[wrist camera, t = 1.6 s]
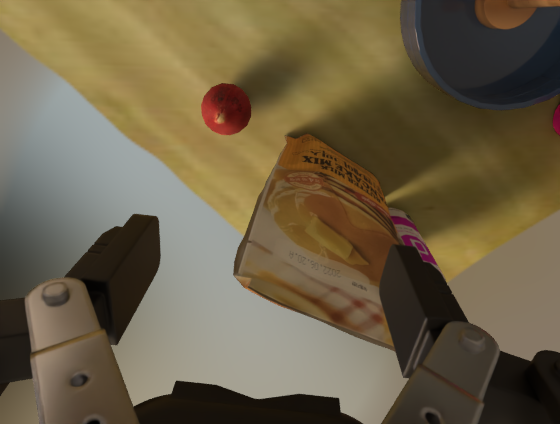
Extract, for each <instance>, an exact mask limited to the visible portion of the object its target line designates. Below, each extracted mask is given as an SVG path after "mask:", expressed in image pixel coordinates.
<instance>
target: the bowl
mask: <svg viewBox="0 0 560 424" xmlns="http://www.w3.org/2000/svg"><path fill="white" fill-rule="evenodd" d="M400 21H401V32H402V37H403V42H404V46H405V48H406V51H407V54H408V56H409V58H410V60H411V62H412V64H413V66H414V67H415V69H416V70H417V71H418V73H419V74H420V75H421V76H422V77H423V78H424V79H425V80H426V81H427V82H428V83H429V84H431V85H432V86H433V87H435V88H436V89H438V90H439V91H441V92H442V93H444V94H446V95H448V96H450V97H452V98H454V99H456V100H458V101H460V102H463V103H466V104H469V105H471V106H474V107H477V108H481V109H491V110H509V109H518V108H525V107H528V106H531V105H534V104H537V103H540V102H543V101H546V100H549V99H551V98H552V97H554V96H556V95H558V94H560V6H555V7H537V9H536V10H535V12H534V13H533V14H532V16H531V17H530V18H529V19H528V20H527V21H525V22H524V23H523V24H521V25H519V26H517V27H515V28H511V29H491V28H488V27H485V26H484V25H482V24H481V23H480V22H479V20H478V19H477V16H476V13H475V0H401V13H400Z"/></svg>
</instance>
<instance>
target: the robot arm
mask: <svg viewBox="0 0 560 424" xmlns="http://www.w3.org/2000/svg"><path fill="white" fill-rule="evenodd" d="M160 256H161V255H160V235H159V220H158V218H157V217H156V216H149V215H141V214H133V215H132V216H131V217H130V219H129V220H128V221H127V222H126V224H125V225H124V226H123V227H118V226H116V227H114V228H112V229H110V230H109V231H107V232H105V233H103V234H102V235H101V236H100V237H99V238H98V240H97V241H96V242H95V244H94V245H92V246H91V247H90V249H89V250H88V252H86V253H85V254H84V255H83V256H82V257H81V259H80V260H79V261H78V262H77V263H76V264H75V265H74V267H73V268H72V269H71V270H70V271H69V272H68V273H67V274H66V275H65V277H64V278H56V279H52V280H48V281H45V282H43V283H41V284H39V285H37V286H36V287H34V288H33V289H32V290H30V291H29V293H28V294H27V295H26V297H25V298H18V299H8V300H0V396H1V394H2V393H3V391H4V390H5V388H6V387H7V386H8V384H9V383H10V382H14V381H20V380H26V379H32V378H33V382H34V389H35V395H36V403H37V410H38V417H39V424H363V423H361V422H360V421H358V420H356V419H355V418H353V417H351V416H349V415H347V414H344V413H341V412H340V403H339V398H333V397H323V396H314V395H305V394H295V395H288V396H280V397H272V398H265V399H254V398H251V397H248V396H245V395H243V394H240V393H237V392H234V391H232V390H229V389H226V388H223V387H221V386H218V385H212V384H203V383H194V382H184V381H176V382H175V385H174V388H173V391H172V394H168V395H163V396H159V397H155V398H152V399H149V400H147V401H144V402H142V403H140V404H138V405H136V406H134V407H133V404H132V402H131V399H130V397H129V394H128V391H127V388H126V385H125V383H124V380H123V377H122V375H121V372H120V369H119V366H118V364H117V361H116V358H115V356H114V353H113V350H112V347H111V345H117V344H118V343H119V341H120V339H121V337H122V335H123V333H124V332H125V330H126V328H127V326H128V324H129V323H130V321H131V319H132V317H133V315H134V313H135V312H136V310H137V308H138V306H139V304H140V302H141V301H142V299H143V297H144V295H145V293H146V291H147V290H148V287H149V286H150V284H151V282H152V280H153V279H154V276H155V275H156V273H157V271H158V268H159V264H160ZM379 296H380V300H381V304H382V307H383V310H384V314H385V317H386V321H387V324H388V327H389V331H390V334H391V338H392V341H393V344H394V348H395V351H396V355H397V358H398V361H399V365H400V368H401V372H402V375H403V378H409V380H408V381H407V383H406V385H405V387H404V388H403V389H402V391H401V393H400V394H399V396H398V397H397V399H396V401H395V402H394V404H393V406H392V407H391V409H390V411H389V412H388V414H387V415H386V417H385V419H384V420H383V422H382V423H381V424H560V353H558V352H555V351H548V350H544V351H540V352H538V353H537V354H536V355H535V356H534V358H533V360H532V361H528V360H525V359H522V358H520V357H517V356H514V355H510V354H508V353H505V352H502V351H500V349H499V346H498V344H497V343H496V341H495V340H494V338H492V336H490V334H488V333H487V332H486V331H484V330H483V329H481V328H480V327H478V326H476V325H473V324H471V323H469V322H468V320H467V318H466V317H465V315H464V313H463V311H462V309H461V308H460V306H459V304H458V302H457V300H456V299H455V297H454V295H453V294H452V291H451V290H450V288H449V286H448V285H447V283H446V281H445V279H444V277H443V275H442V274H441V272H440V271H439V270H437V269H436V268H435V267H434V266H433V265H432V264H431V263H430V262H423V260H422V258H421V256H420V254H419V252H418V250H417V248H416V247H415V246H407V245H398V244H392V245H391V247H390V249H389V252H388V256H387V259H386V262H385V266H384V269H383V272H382V276H381V279H380V285H379Z"/></svg>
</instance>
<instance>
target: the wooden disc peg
mask: <svg viewBox="0 0 560 424" xmlns="http://www.w3.org/2000/svg"><path fill="white" fill-rule="evenodd" d="M555 6H560V0H475V13H476V16H477V19H478V20H479V22H480V23H481V24H482V25H484V26H485V27H488V28H491V29H511V28H515V27H517V26H519V25H521V24H523V23H524V22H525V21H527V20H528V19H529V18H530V17H531V16H532V14H533V13H534V12H535V10H536V9H537V7H555Z"/></svg>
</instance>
